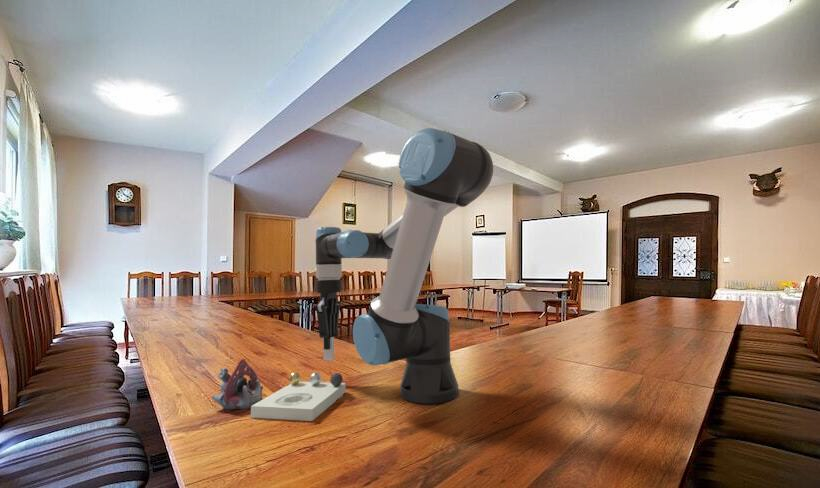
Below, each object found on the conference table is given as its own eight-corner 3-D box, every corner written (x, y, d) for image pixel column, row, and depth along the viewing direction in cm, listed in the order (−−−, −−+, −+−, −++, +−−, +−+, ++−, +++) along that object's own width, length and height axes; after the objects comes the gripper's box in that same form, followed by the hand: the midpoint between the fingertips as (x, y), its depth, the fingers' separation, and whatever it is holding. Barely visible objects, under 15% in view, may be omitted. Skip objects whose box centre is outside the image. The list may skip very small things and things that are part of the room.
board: (294, 390, 99) (294, 381, 99) (345, 392, 96) (345, 383, 96) (250, 417, 81) (250, 406, 81) (312, 421, 78) (312, 409, 78)
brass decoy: (303, 382, 98) (303, 370, 98) (297, 386, 95) (297, 373, 95) (292, 382, 99) (292, 370, 99) (286, 385, 95) (286, 373, 96)
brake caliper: (249, 403, 83) (223, 360, 85) (217, 431, 84) (192, 387, 87) (278, 388, 94) (255, 350, 96) (249, 413, 95) (227, 375, 98)
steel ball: (323, 383, 97) (323, 371, 97) (318, 387, 94) (318, 374, 94) (312, 383, 97) (312, 370, 98) (307, 386, 94) (306, 374, 94)
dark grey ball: (344, 384, 95) (344, 371, 96) (339, 387, 92) (339, 375, 93) (333, 383, 96) (333, 371, 96) (328, 387, 93) (328, 374, 93)
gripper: (326, 278, 114) (326, 354, 112) (306, 279, 101) (306, 365, 99) (348, 278, 112) (349, 355, 111) (331, 279, 100) (331, 366, 98)
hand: (328, 359), depth 105 cm, fingers closed
